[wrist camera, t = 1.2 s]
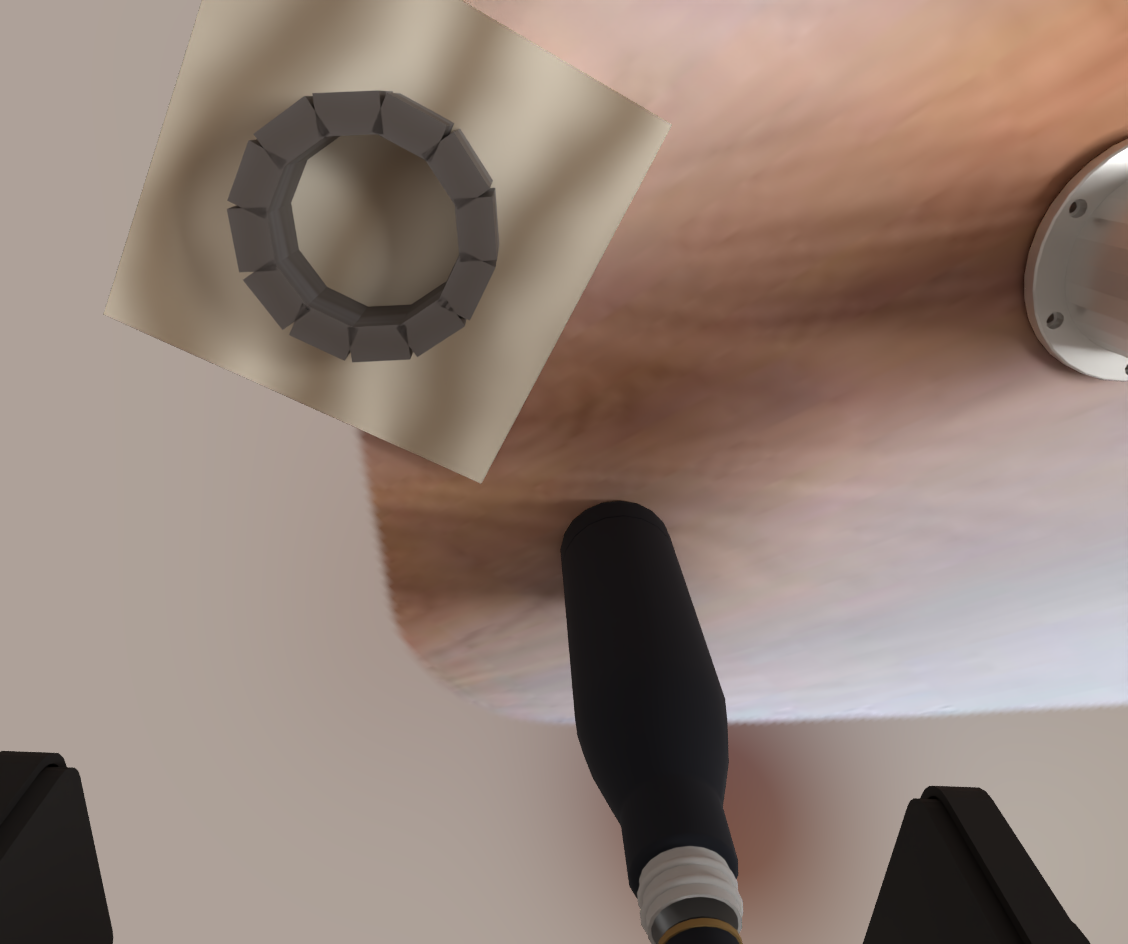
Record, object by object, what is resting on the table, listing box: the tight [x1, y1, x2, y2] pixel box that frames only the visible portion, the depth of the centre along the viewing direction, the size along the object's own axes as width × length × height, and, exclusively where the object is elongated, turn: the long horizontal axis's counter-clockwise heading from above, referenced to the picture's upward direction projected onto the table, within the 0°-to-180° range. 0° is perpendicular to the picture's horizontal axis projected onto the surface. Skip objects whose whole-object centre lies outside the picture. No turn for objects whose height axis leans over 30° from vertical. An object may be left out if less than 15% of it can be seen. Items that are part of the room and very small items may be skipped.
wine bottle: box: [561, 501, 743, 944], centre depth 34 cm, size 6×6×30 cm
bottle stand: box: [104, 0, 672, 483], centre depth 38 cm, size 20×20×6 cm
